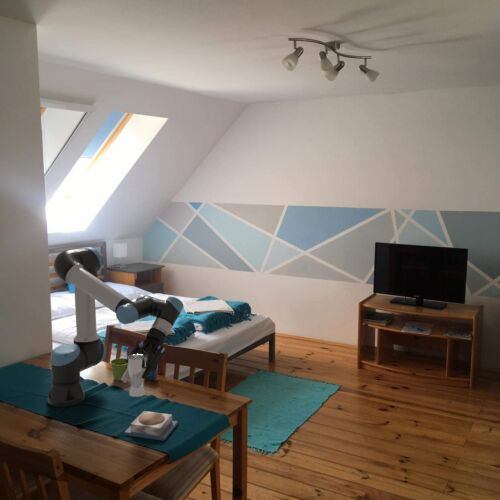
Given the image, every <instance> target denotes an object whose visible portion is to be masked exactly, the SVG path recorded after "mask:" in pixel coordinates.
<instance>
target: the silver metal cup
mask: <svg viewBox="0 0 500 500" xmlns="http://www.w3.org/2000/svg"><path fill="white" fill-rule="evenodd" d="M129 355H130V354H129ZM129 355H128V356H127V358H128V363H127V370H128V377H129V378H128V380H129V390H128V391H129V392H128V396H130V397H132V398H139V397H143V396H145V394H146V390H145V380H144V381H143V383H142V384H141V386H140V387H138V386H137V385H136V384H135V382H136V381H137V379H138V377H139V375H140V373H141V372H142V370H143V368H144V367H146V361H145V360H146V356H145V355H142V354H133V355H130V356H129ZM144 369H145V368H144ZM145 370H146V369H145Z"/></svg>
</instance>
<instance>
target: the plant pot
mask: <svg viewBox="0 0 500 500" xmlns="http://www.w3.org/2000/svg"><path fill="white" fill-rule="evenodd" d="M126 359H127V358H124V357H120V358H119V357H118V358H114V359H112V360H110V362H109V363H110V366H111V369H112V376H113V380H114V381H117V382H119V381H122V380H121V378H122V376H123V375H124V373H125V372H124V371H125V369H126V367H127V362H126ZM122 382H123V381H122Z"/></svg>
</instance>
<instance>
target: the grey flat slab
mask: <svg viewBox="0 0 500 500" xmlns="http://www.w3.org/2000/svg"><path fill="white" fill-rule="evenodd" d="M178 423H179V421H177V420H172V422H171V424H170V425H169V426H168V427H167V428H166V430H165V431H164V432H163V433H162V434H161V435H160V436H159V435H152V434H145V433H137V432H131V425H130V426H129V427H128V428H127V429H125V431H124V436H129V437H135V438H136V437H138V438H141V439H142V438H143V439H148V440H149V439H150V440H158V441H162V442H163V441H165V440H166V439H167V438H168V437H169V436H170V434H171V433H172V432H173V431H174V429H176V427H177V426H178Z"/></svg>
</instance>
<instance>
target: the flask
mask: <svg viewBox="0 0 500 500" xmlns="http://www.w3.org/2000/svg"><path fill="white" fill-rule="evenodd" d="M147 359H148V357H146V359H145V361H146V364H147ZM158 367H159V365H158V366H157V368H156V370H155V371H154V372H153V371H151V372H149V374H148V376H147V378H146V379H144V381H149V382H157V381H158V372H159V371H158Z"/></svg>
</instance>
